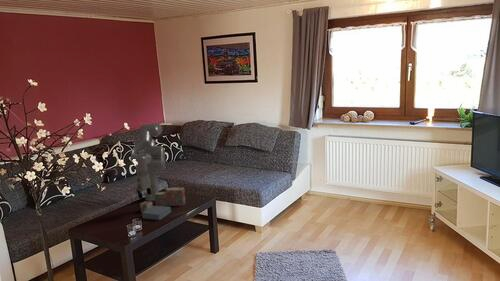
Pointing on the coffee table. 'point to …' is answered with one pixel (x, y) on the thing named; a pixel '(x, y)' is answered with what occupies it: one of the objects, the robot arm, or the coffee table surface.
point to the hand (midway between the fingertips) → (145, 196)
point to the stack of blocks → (171, 197)
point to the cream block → (145, 205)
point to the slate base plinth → (156, 212)
